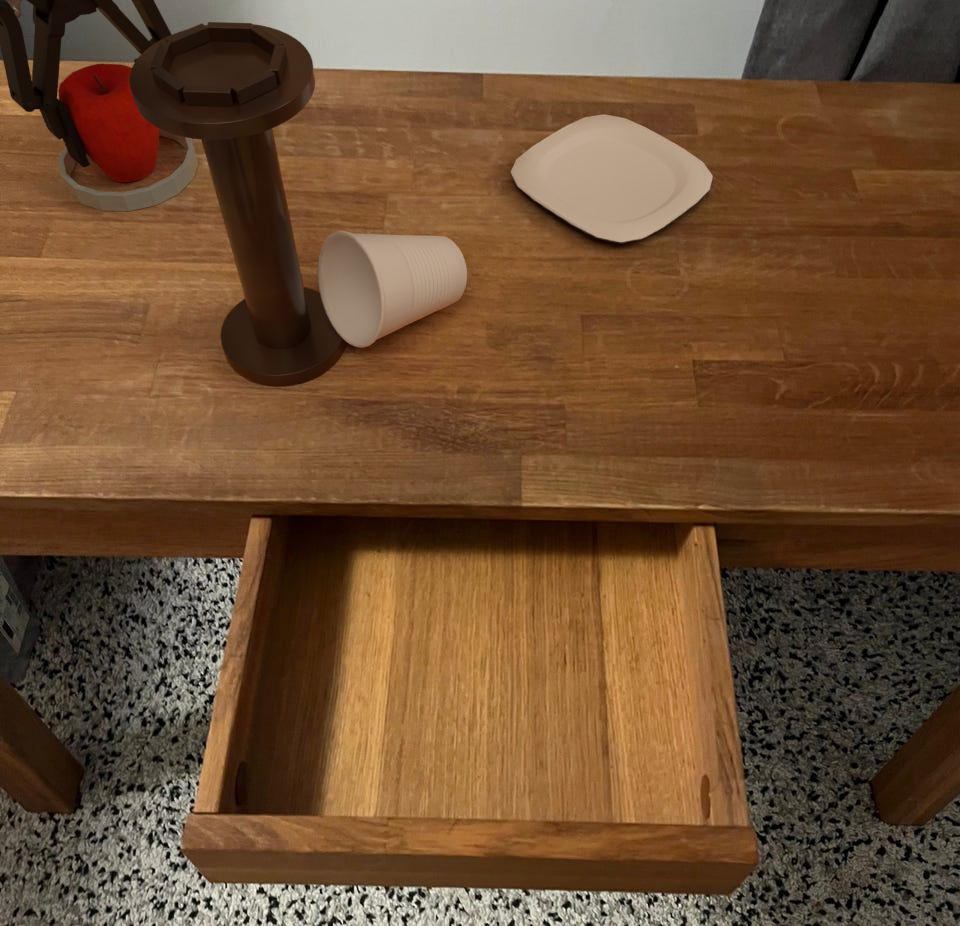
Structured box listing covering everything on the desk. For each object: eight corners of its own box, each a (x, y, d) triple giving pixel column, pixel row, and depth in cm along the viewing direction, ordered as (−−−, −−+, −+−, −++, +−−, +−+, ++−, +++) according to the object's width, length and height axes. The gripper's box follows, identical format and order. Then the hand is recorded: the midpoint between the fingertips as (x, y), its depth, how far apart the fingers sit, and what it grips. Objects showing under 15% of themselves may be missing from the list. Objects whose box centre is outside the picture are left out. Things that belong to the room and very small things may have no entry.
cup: (454, 343, 83) (357, 370, 77) (403, 262, 85) (305, 282, 79) (499, 276, 75) (396, 300, 69) (442, 190, 78) (337, 205, 71)
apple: (155, 135, 96) (124, 40, 87) (188, 176, 92) (159, 81, 83) (77, 162, 93) (36, 67, 84) (107, 206, 89) (68, 111, 80)
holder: (271, 413, 74) (191, 133, 52) (192, 338, 79) (88, 52, 57) (379, 342, 79) (348, 59, 57) (298, 275, 84) (241, -10, 62)
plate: (489, 183, 93) (490, 169, 91) (600, 114, 100) (602, 101, 99) (620, 268, 85) (623, 255, 84) (729, 187, 93) (733, 174, 92)
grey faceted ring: (108, 229, 87) (101, 213, 86) (41, 167, 93) (34, 151, 91) (222, 171, 93) (218, 155, 91) (153, 116, 98) (147, 100, 97)
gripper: (-74, -41, 66) (43, 204, 84) (174, -123, 74) (231, 115, 93) (-116, -75, 69) (6, 168, 87) (127, -150, 77) (191, 85, 96)
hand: (122, 140), depth 90 cm, fingers closed on apple, 9 cm apart
